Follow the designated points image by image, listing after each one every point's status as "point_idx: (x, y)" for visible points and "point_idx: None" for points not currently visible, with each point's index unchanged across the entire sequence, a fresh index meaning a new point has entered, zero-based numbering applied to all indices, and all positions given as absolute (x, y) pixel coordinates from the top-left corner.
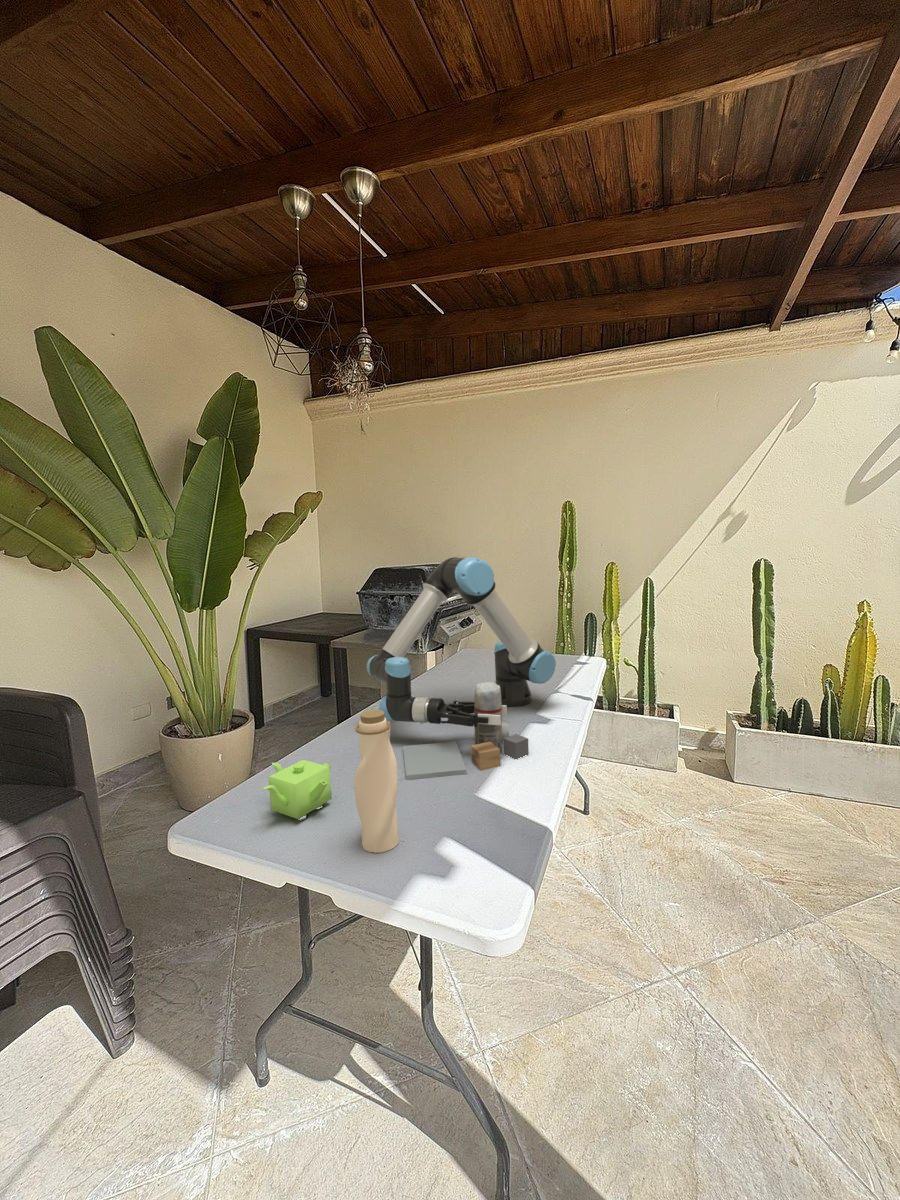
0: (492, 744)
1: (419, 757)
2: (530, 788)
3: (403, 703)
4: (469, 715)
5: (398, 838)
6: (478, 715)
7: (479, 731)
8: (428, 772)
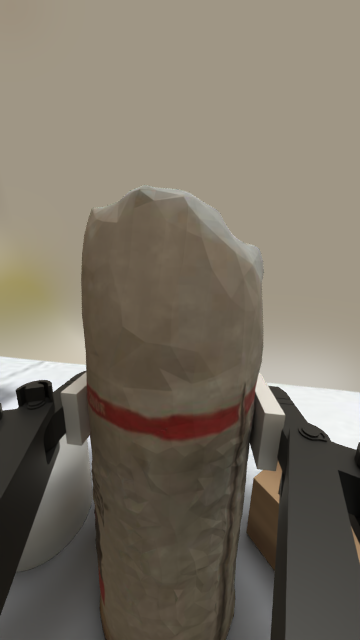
0: (277, 466)
1: None
2: (346, 417)
3: None
4: (338, 485)
5: None
6: (281, 416)
7: (240, 515)
8: None
